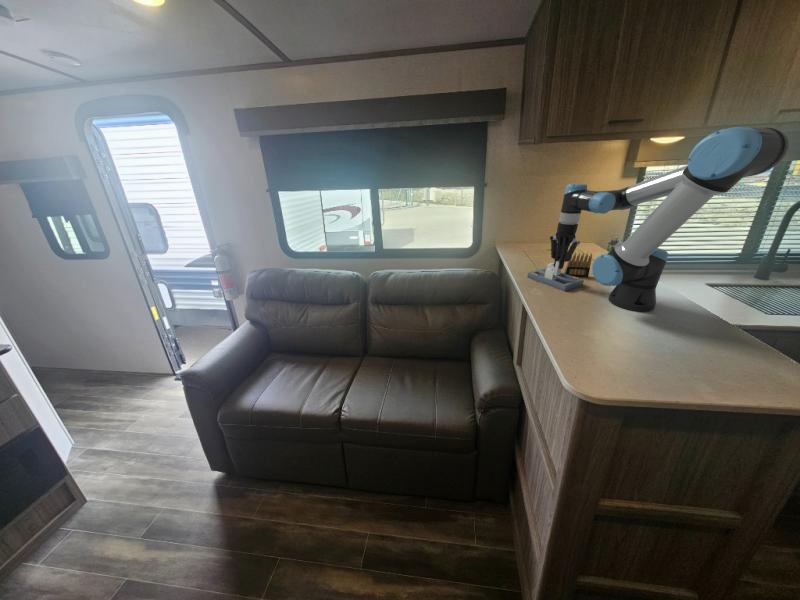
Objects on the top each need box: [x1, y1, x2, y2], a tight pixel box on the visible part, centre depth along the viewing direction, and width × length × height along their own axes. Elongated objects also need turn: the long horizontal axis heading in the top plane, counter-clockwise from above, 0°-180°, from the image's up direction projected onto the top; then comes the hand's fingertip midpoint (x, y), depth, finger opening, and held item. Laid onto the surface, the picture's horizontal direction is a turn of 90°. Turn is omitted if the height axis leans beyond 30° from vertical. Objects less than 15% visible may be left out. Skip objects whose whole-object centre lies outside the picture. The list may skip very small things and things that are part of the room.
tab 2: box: [544, 268, 557, 281], centre depth 140 cm, size 4×3×6 cm
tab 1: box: [546, 262, 555, 269], centre depth 146 cm, size 4×3×6 cm
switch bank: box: [527, 267, 585, 292], centre depth 143 cm, size 20×13×3 cm, turn 28°
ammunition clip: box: [563, 252, 593, 278], centre depth 146 cm, size 11×2×12 cm, turn 79°
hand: (556, 274), depth 137 cm, fingers closed
